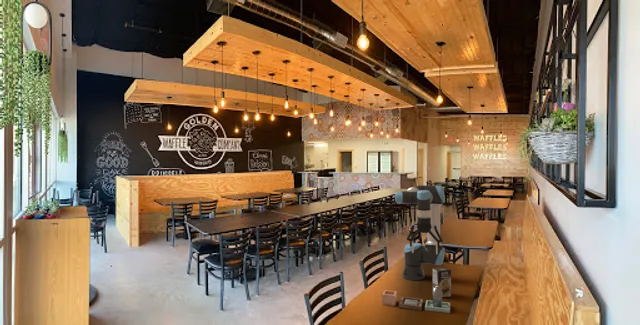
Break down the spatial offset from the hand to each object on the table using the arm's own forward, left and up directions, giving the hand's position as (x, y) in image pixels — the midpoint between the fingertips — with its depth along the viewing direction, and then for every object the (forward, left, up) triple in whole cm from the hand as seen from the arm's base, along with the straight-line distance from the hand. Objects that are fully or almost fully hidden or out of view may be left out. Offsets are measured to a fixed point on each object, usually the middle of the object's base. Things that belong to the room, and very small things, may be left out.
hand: (424, 252), depth 218 cm
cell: (+9, +7, -27) cm, 30 cm away
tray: (+9, +7, -28) cm, 31 cm away
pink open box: (+10, -19, -28) cm, 35 cm away
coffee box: (-12, +9, -28) cm, 32 cm away
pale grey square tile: (+9, -7, -27) cm, 30 cm away
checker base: (+9, -7, -28) cm, 30 cm away
